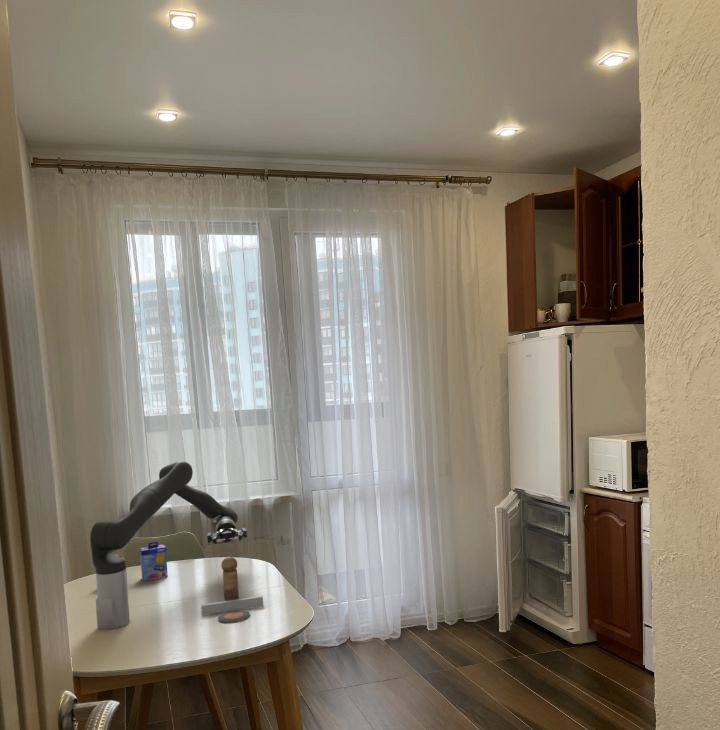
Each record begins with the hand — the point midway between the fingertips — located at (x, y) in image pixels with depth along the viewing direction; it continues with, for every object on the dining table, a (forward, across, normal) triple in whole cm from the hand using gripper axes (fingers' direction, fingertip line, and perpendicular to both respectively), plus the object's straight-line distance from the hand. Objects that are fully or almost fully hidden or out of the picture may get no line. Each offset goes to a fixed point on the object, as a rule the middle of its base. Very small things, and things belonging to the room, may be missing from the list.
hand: (227, 539), depth 241 cm
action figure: (-34, -44, +20) cm, 59 cm away
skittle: (+12, 0, +19) cm, 22 cm away
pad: (+27, 0, +19) cm, 33 cm away
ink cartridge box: (-36, -29, +20) cm, 50 cm away
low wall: (+19, 0, +19) cm, 27 cm away
